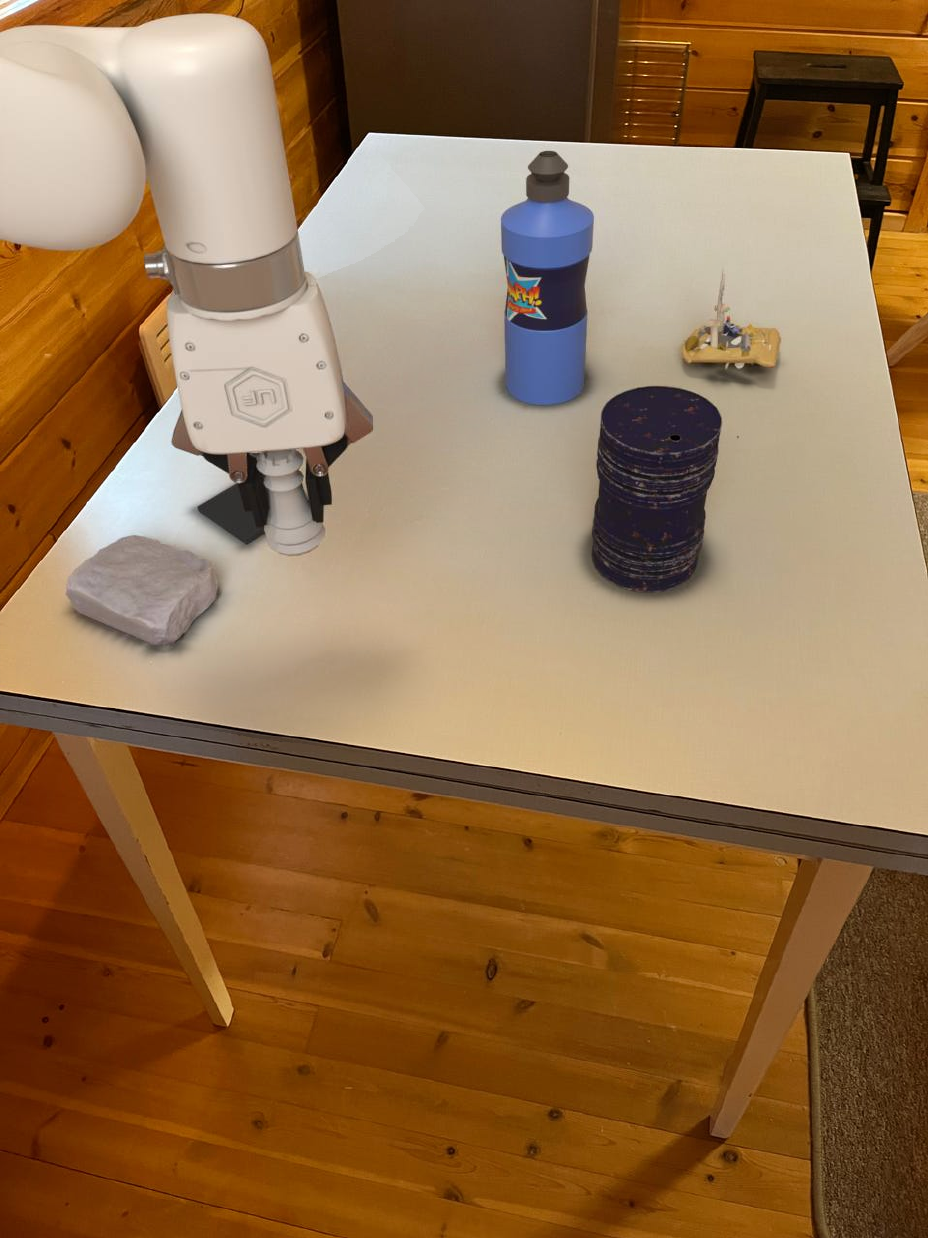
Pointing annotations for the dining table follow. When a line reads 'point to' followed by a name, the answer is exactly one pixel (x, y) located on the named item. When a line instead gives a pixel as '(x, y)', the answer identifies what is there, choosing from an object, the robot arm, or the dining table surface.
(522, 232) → the water bottle
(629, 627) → the dining table surface
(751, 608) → the dining table surface
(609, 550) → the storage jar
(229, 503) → the mat
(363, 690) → the dining table surface
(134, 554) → the stone block
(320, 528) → the rook chess piece
